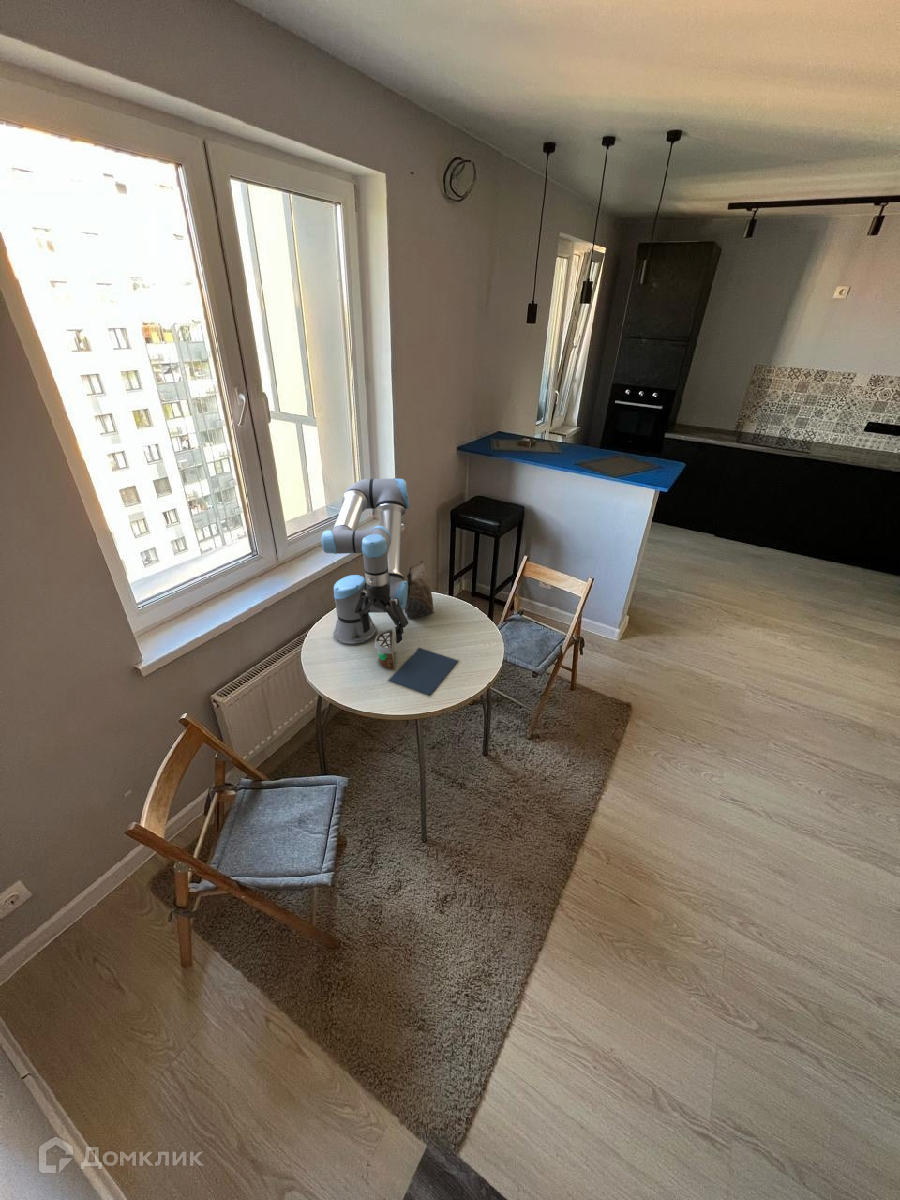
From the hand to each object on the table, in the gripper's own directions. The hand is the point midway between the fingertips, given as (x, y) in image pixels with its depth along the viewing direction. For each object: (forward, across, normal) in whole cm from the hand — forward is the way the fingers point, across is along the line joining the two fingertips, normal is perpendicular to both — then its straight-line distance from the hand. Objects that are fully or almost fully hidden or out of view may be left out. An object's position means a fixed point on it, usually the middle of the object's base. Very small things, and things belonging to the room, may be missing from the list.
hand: (382, 636), depth 169 cm
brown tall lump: (+10, -7, +34) cm, 36 cm away
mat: (+11, +15, +2) cm, 19 cm away
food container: (+11, 0, 0) cm, 11 cm away
